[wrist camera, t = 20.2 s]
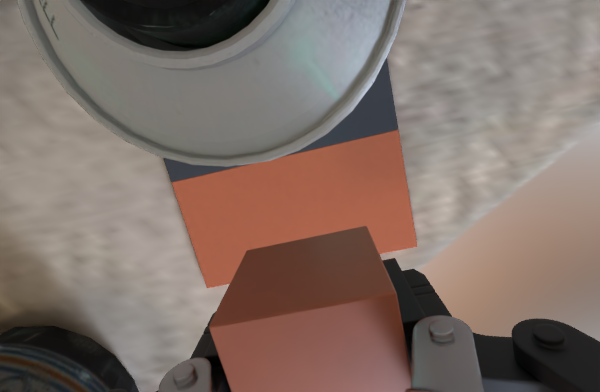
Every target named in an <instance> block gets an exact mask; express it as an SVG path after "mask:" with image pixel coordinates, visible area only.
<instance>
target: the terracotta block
mask: <svg viewBox="0 0 600 392" xmlns="http://www.w3.org/2000/svg"><path fill="white" fill-rule="evenodd" d="M209 329H210V332H211V335H212V338H213V341H214V344H215V347H216V349H217V352H218V355H219V358H220V361H221V364H222V367H223V370H224V372H225V375H226V378H227V381H228V384H229V387H230V390H231V392H405V390H406V388H411V367H410V362H409V356H408V351H407V346H406V340H405V335H404V330H403V325H402V319H401V314H400V309H399V303H398V298H397V293H396V290H395V288H394V286H393V284H392V282H391V279H390V277H389V275H388V273H387V270H386V268H385V266H384V264H383V261H382V259H381V257H380V255H379V252H378V250H377V248H376V246H375V243H374V241H373V239H372V237H371V234H370V232H369V230H368V228H367V226H362V227H358V228H353V229H348V230H343V231H338V232H333V233H329V234H324V235H319V236H314V237H309V238H304V239H300V240H295V241H290V242H285V243H280V244H275V245H271V246H266V247H261V248H256V249H251V250H247V251H246V253H245V255H244V257H243V259H242V261H241V263H240V265H239V267H238V269H237V271H236V273H235V275H234V277H233V279H232V281H231V283H230V285H229V287H228V289H227V291H226V293H225V295H224V297H223V299H222V301H221V303H220V305H219V307H218V309H217V311H216V313H215V315H214V317H213V319H212V321H211V323H210V325H209Z"/></svg>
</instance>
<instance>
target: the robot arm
mask: <svg viewBox="0 0 600 392" xmlns="http://www.w3.org/2000/svg"><path fill="white" fill-rule="evenodd" d="M382 261H383V264H384V266H385V268H386V270H387V273H388V275H389V277H390V279H391V282H392V284H393V286H394V288H395V290H396V293H397V298H398V303H399V309H400V314H401V319H402V325H403V330H404V335H405V340H406V346H407V351H408V356H409V362H410V367H411V388H406V390H405V392H600V342H599V341H597V340H595V339H594V338H592V337H590V336H588V335H586V334H584V333H582V332H581V331H579V330H577V329H575V328H573V327H571V326H569V325H566V324H564V323H561V322H558V321H554V320H549V319H529V320H525V321H521V322H519V323H518V324H516V326H514V328H513V330H512V337H496V336H494V337H493V336H485V335H480V334H476V333H473V332H472V330H471V329H470V327H469V326H468V325H467V324H466V323H464V322H463V321H461V320H459V319H457V318H454V317H452V316H451V314H450V313H449V311H448V310H447V308H446V307H445V305H444V304H443V302H442V301H441V299H440V298H439V296H438V295H437V293H435V290H434V289H433V287H432V286H431V285H430V283H429V281H428V280H427V278H426V277H425V275H424V274H422V273H420V272H418V271H416V270H415V269H410V270H405V271H402V270H401V269H400V267H399V265H398V263H397V261H396V259H395V258H393V259H388V260H382ZM215 313H216V312H215ZM215 313H214V314H213V315H212V317H211V319H210V321H209V323H208V326H207V327H206V329H205V331H204V335H202V337H201V339H200V341H199V342H198V344H197V346H196V348H195V350H194V352H193V354H192V356H191V358H190V359H189V360H186V361H184V362H182V363H180V364H178V365H177V366H175V367H174V368H172V369H171V370H170V371H169V372H168V373H167V374H166V375H165V376H164V378H163V379H162V381H161V383H160V386H159V390H158V391H156V392H231V390H230V387H229V384H228V381H227V378H226V375H225V372H224V370H223V367H222V364H221V361H220V358H219V355H218V352H217V349H216V347H215V344H214V341H213V338H212V335H211V332H210V329H209V325H210V323H211V321H212V319H213V317H214V315H215ZM107 392H127V390H125V389H113V390H109V391H107Z"/></svg>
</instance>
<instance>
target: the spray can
mask: <svg viewBox="0 0 600 392" xmlns="http://www.w3.org/2000/svg"><path fill="white" fill-rule="evenodd" d="M406 1H407V0H17V2H18V6H19V9H20V12H21V15H22V18H23V21H24V23H25V25H26V27H27V29H28V31H29V33H30V35H31V37H32V39H33V41H34V43H35V45H36V47H37V49H38V51H39V53H40V55H41V57H42V59H43V60H44V61H45V63H46V64H47V66H48V67H49V68H50V70H51V71H52V72H53V74H54V75H55V77H56V78H57V79H58V81H59V82H60V83H61V85H62V86H63V88H64V89H65V90H66V92H67V93H68V94H69V95H70V96H71V97H72V98H73V99H74V100H75V101H76V102H77V103H78V104H79V105H80V106H81V107H82V108H83V109H84V110H85V111H86V112H87V113H88V114H89V115H90V116H92V117H93V118H94V119H95V120H96V121H97V122H99V123H100V124H102V125H103V126H104V127H106V128H107V129H109V130H110V131H112V132H113V133H115V134H116V135H117V136H119V137H120V138H122V139H123V140H125V141H126V142H128V143H131V144H133V145H135V146H137V147H139V148H141V149H144V150H146V151H148V152H150V153H152V154H155V155H157V156H159V157H163V158H167V159H171V160H175V161H179V162H183V163H187V164H191V165H205V166H224V167H228V166H235V165H245V164H252V163H259V162H266V161H271V160H274V159H277V158H280V157H282V156H285V155H288V154H291V153H294V152H296V151H299V150H301V149H303V148H304V147H306V146H308V145H309V144H311V143H313V142H314V141H316V140H318V139H319V138H321V137H323V136H324V135H326V134H328V133H329V132H330V131H331V130H332V129H333V128H334V127H335V126H336V125H337V124H339V123H340V122H341V121H342V120H343V119H344V118H345V117H346V116H347V115H349V114H350V113H351V112H352V111H353V110H354V108H355V107H356V106H357V104H358V103H359V102H360V100H361V99H362V98H363V96H364V95H365V94H366V92H367V91H368V90H369V88H370V87H371V86H372V84H373V83H374V81H375V79H376V77H377V75H378V73H379V71H380V69H381V67H382V65H383V63H384V61H385V59H386V57H387V55H388V53H389V51H390V48H391V45H392V43H393V41H394V39H395V37H396V34H397V31H398V28H399V24H400V21H401V18H402V14H403V11H404V7H405V4H406Z"/></svg>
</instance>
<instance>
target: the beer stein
mask: <svg viewBox="0 0 600 392" xmlns="http://www.w3.org/2000/svg"><path fill="white" fill-rule="evenodd" d="M113 389H125V390H127V392H139V391H138V389H137V387H136V384H135V382H134V380H133V379H132V378H131V376H130V375H129V374H128V372H127V371H126V370H125V368H124V367H123V366H122V364H121V363H120V362H119V361H118V359H117V358H116V357H115V356H114V355H113V354H111V353H110V352H108V351H107V350H106V349H104V348H103V347H102V346H100V345H99V344H98V343H96V342H95V341H93V340H92V339H91V338H88V337H85V336H82V335H79V334H76V333H73V332H70V331H67V330H64V329H61V328H58V327H55V326H43V327H15V328H12V329H10V330H8V331H6V332H4V333H2V334H0V392H107V391H109V390H113Z"/></svg>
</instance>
